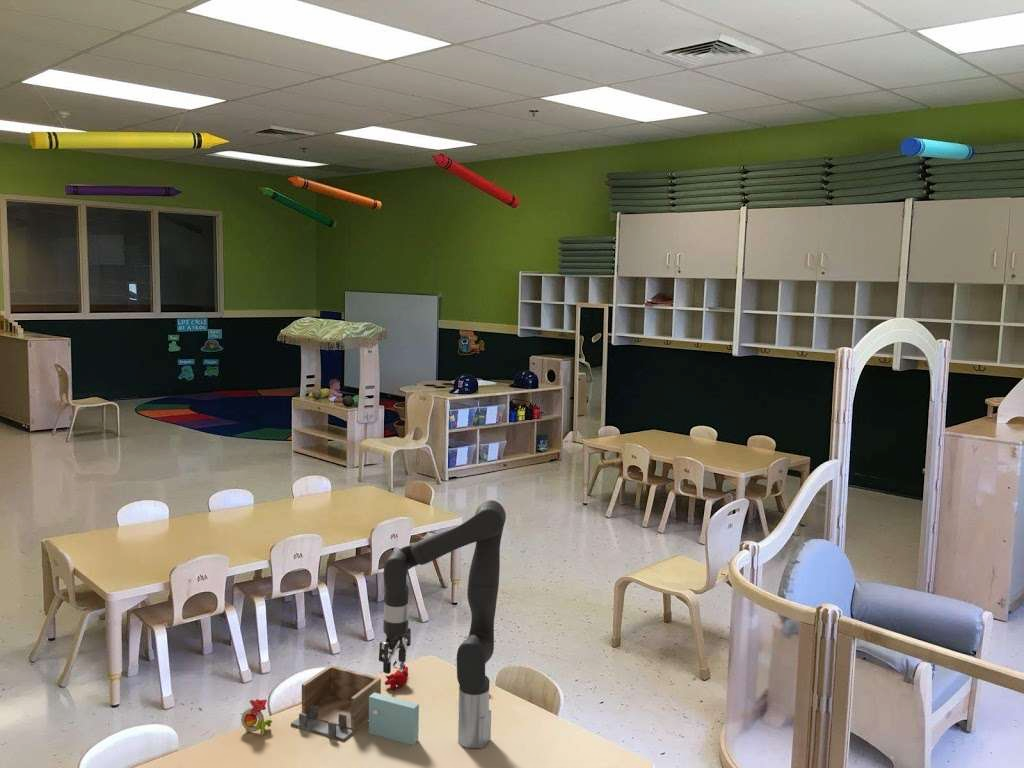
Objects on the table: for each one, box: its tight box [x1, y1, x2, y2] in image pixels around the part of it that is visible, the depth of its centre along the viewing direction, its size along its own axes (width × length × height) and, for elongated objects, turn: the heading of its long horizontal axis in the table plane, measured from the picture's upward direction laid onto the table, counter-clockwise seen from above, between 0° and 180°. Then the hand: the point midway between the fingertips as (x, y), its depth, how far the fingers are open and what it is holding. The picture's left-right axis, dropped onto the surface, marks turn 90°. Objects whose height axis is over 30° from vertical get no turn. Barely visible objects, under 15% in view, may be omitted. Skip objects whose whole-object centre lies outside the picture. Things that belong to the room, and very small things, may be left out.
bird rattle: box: [240, 699, 273, 737], centre depth 264 cm, size 6×11×9 cm
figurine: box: [384, 660, 409, 691], centre depth 299 cm, size 6×8×15 cm
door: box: [368, 692, 420, 746], centre depth 264 cm, size 16×4×12 cm, turn 66°
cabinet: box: [290, 665, 382, 742], centre depth 274 cm, size 20×21×11 cm
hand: (394, 667), depth 262 cm, fingers open, 8 cm apart
